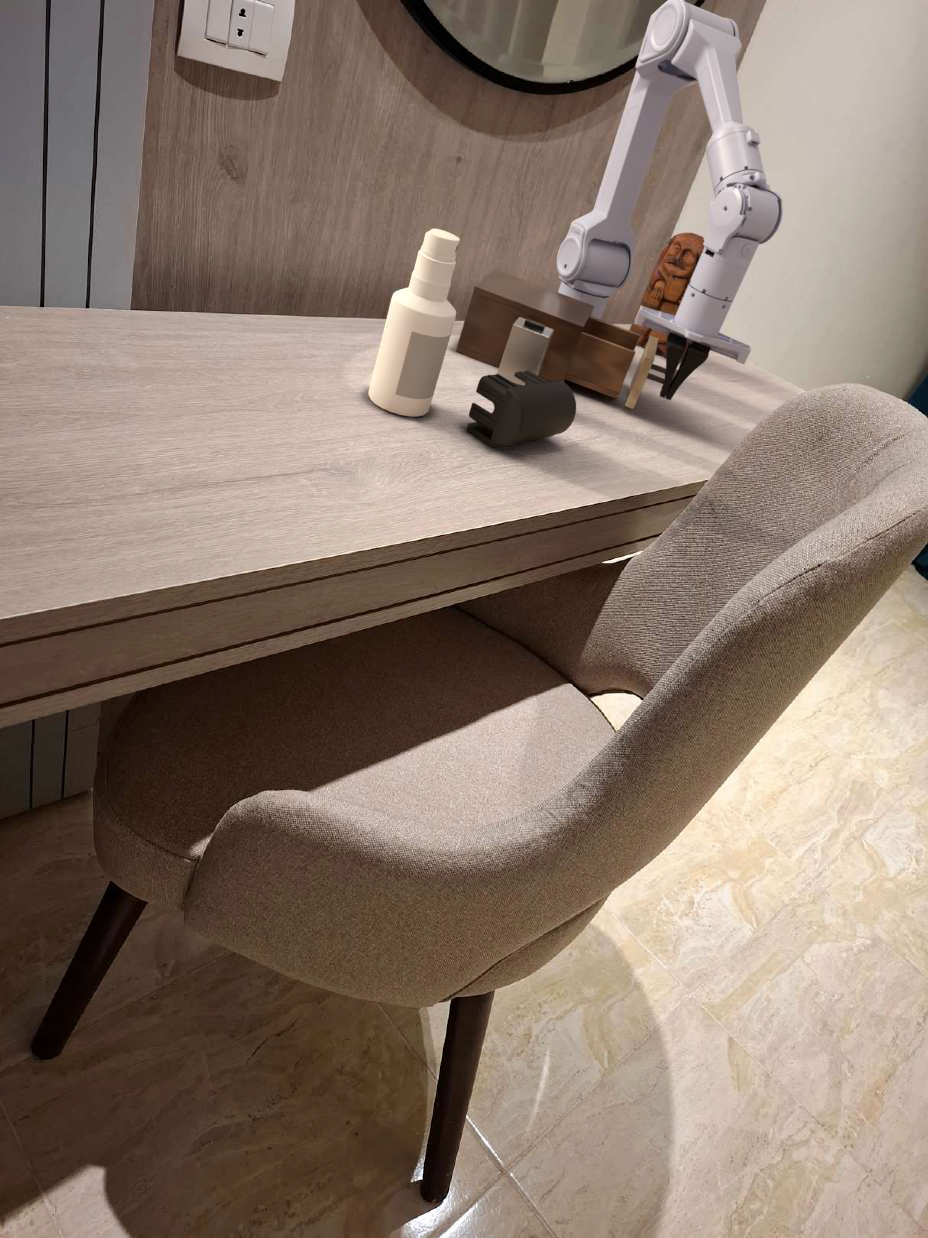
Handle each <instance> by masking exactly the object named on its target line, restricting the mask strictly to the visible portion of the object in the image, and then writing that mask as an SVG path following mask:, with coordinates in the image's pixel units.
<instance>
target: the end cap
mask: <svg viewBox="0 0 928 1238" xmlns="http://www.w3.org/2000/svg"><path fill="white" fill-rule="evenodd" d="M514 376H515V377H516V378H518V379H520V380H521V381H523V382H525V385H520V384H516V383H513V382H511V381H509V380H508V379H506V378H504V377H503V376H501V375H499V374H497V373H495V374H487V375H482V377H480V379H479V380H478V384H477V387H476V390H475V393H476V394H478V395H480V396H481V397H483V398H484V399H486V400H487V401H489V402H491V403H492V404H493V411H492V412H490V411H488V410H487V409H485V408H484V407H482V406H481V405H479V404H478V403H476V402H472V403H471V406H470V409H469V413H468V417H469V419H471V420H473V421H474V422H469V423H467V426H466V431H467V432H468V433H470V434H471V435H473V436H474V437H476V438H477V439H478V440H480V441H482V442H483V443H485V444H486V445H488V446H490V447H493V448H495V449H497V448H502V447H506V446H511V445H517V444H521V443H526V442H532V441H537V440H542V439H546V438H551V437H554V436H556V435H560V434H562V433H564V432H566V431H567V430H568V429H570V427H571V426H572V424H573V422H574V420H575V418H576V414H577V401H576V396H575V395H574V391H572V389H571V387H570V386H569V385H568V384H567V383H566V381H565V382H563V381H558V382H551V383H549V382H547V381H545V380H544V379H542V378H540V377H539V376H537V375H535V374H534V373H532V372H530V371H528V370H527V371H523V372H521V371H520V372H515V375H514Z"/></svg>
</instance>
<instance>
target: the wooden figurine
mask: <svg viewBox="0 0 928 1238" xmlns="http://www.w3.org/2000/svg"><path fill="white" fill-rule="evenodd" d="M703 243H704V236H702V235H700V234H697V233H694V232H681V233H677V234H675V235H673V236H672V237H671V238H670V239H669V240H668V242H667V245H666V246H665V247H664V248H663V249H662V251H661V252H660V253H659V254H660V255H659V257H658V259H657V261H656V262H655V265H654V268H653V270H652V273H651V274H650V278H649V280H648V284H647V286H646V288H645V289H644V290H645V291H644V293H643V296H642V298H641V301H640V303H639V305H638V308H637V310H636V313H635V315H634V317H633V320H632V323H631V324H630V327H629V329H628V330H629V331H632V332H635V333H637V334H640V337H639V340H638V342H637V345H636V346H642V347H643V348H645V347H646V345H647V342H648V340H649V337H650V336H653V337H656V338H658V343H657V348H656V353H655V354H658V355H663V356H664V357H666V342H667V334H665V333H662V332H659V331H656V330H654V329H651V328H648V327H646V326H639V325H636V324H634V322H635V319H636V316H637V314H638V311H639V309H640V306H644V307H647V308H650V309H653V310H656V311H660V312H663V313H667V314H670V315H674V316H675V315H676V313H677V311H678V308H679V306H680V304H681V301H682V299H683V297H684V294H685V292H686V289H687V287H688V285H689V282H690V280H691V278H692V275H693V273H694V271H695V268H696V266H697V264H698V261H699V259H700V256H701V254H702V252H703V249H704V247H705V246H704V244H703ZM688 344H689V342H686V347H685V352H686V349H687V347H688ZM685 352H684V354H685ZM684 354H683V356H682V358H681V360H682V359H683V357H684Z"/></svg>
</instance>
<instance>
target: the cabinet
mask: <svg viewBox="0 0 928 1238" xmlns="http://www.w3.org/2000/svg"><path fill="white" fill-rule="evenodd" d="M471 294H472V295H471V298H470V302H469V305H468V309H467V312H466V315H465V317H464V318H465V319H464V322H463V326H462V329H461V332H460V335H459V340H458V343H457V346H456V349H455V352H456V353H459V354H462V355H464V356H468V357H469V358H472V359H475V360H478V361H480V362H483V363H486V364H489V365H491V366H494V367H495V368H499V367H500V364H501V360H502V357H503V354H504V351H505V348H506V345H507V342H508V339H509V336H510V333H511V330H512V327H513V324H514V323H515V322H516V320H517V319H518V318H519V317H521V318H524V319H530V320H533V321H535V322H538V323H541V324H543V325H545V327H548V328H551V329H553V330H554V332H553V335H552V338H551V341H550V344H549V346H548V349H547V352H546V355H545V358H544V361H543V363H542V366H541V369H540V372H539V375H538V376H539V377H540V378H542V379H544V380H545V381H547V382H549V383H551V382H558V381H563V382H565V383H566V380H565V377H566V374H567V372H568V369H569V366H570V364H571V361H572V358H573V355H574V353H575V350H576V347H577V345H578V342H579V339H580V336H581V334H582V331H583V329H584V327H585V325H586V323H587V321H588V319H589V317H590V316H591V314H592V312H593V309H594V306H593V305H590V304H587V303H585V302H582V301H579V300H577V299H574V298H571V297H569V296H566V295H563V294H561V293H558V291H555V290H552V289H549V288H547V287H545V286H541V285H538V284H537V283H535V282H534V283H533V282H531V281H528V280H525V279H523V278H520V277H518V276H515V275H512V274H509V273H506V272H504V271H501V270H499V269H496V268H494V269H493V270H492V271H491V272H489V273H488V274H487V275H486V276H485V277H484V278H483V279H481V280H480V281H479V282H478V283H477V284H476V285H474V288H473V291H472V293H471Z"/></svg>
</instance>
